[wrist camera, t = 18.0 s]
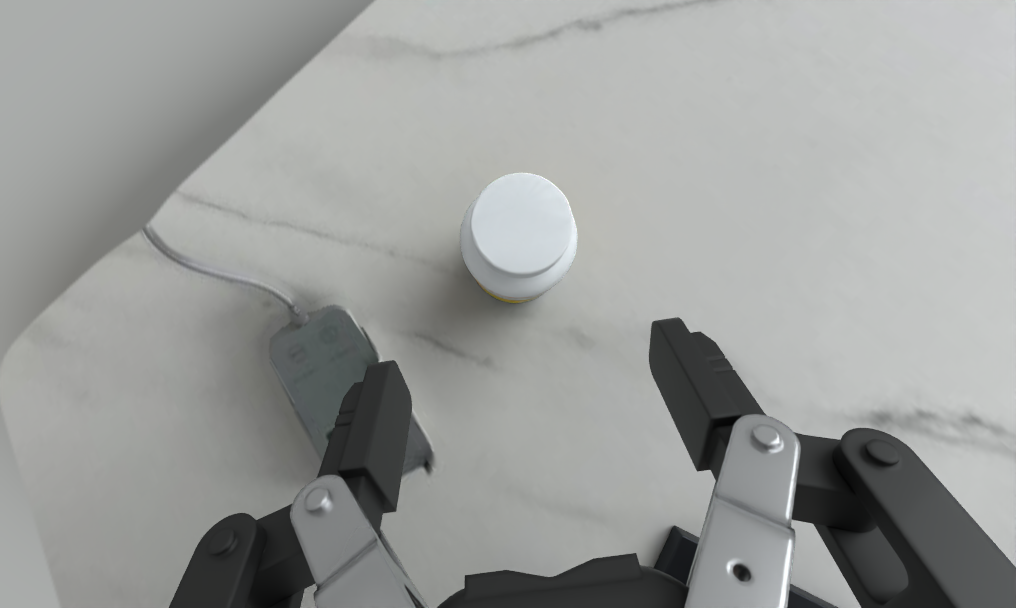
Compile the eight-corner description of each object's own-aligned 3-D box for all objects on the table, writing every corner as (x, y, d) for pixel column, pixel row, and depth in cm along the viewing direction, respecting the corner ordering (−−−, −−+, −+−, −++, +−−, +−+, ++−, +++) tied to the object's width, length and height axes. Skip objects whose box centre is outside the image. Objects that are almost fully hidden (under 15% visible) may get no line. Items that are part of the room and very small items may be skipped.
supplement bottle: (487, 206, 25) (477, 134, 16) (569, 233, 25) (610, 178, 16) (459, 287, 25) (431, 266, 15) (542, 315, 25) (566, 311, 15)
